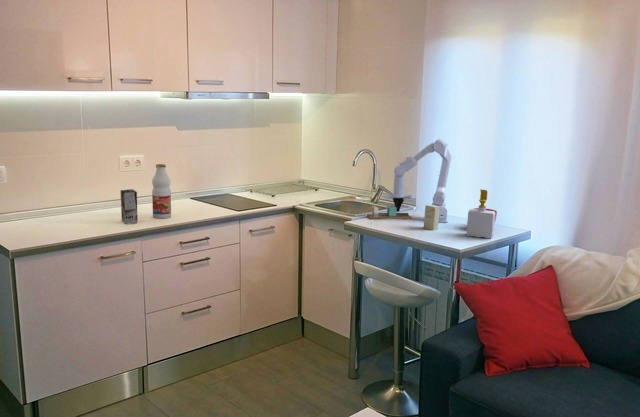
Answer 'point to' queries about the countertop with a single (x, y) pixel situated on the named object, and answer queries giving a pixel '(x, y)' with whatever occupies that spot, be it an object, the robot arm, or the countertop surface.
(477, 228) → the soap bottle
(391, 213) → the keeper
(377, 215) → the rail board
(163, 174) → the fruit juice
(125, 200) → the coffee box
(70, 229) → the countertop surface
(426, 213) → the skincare box
